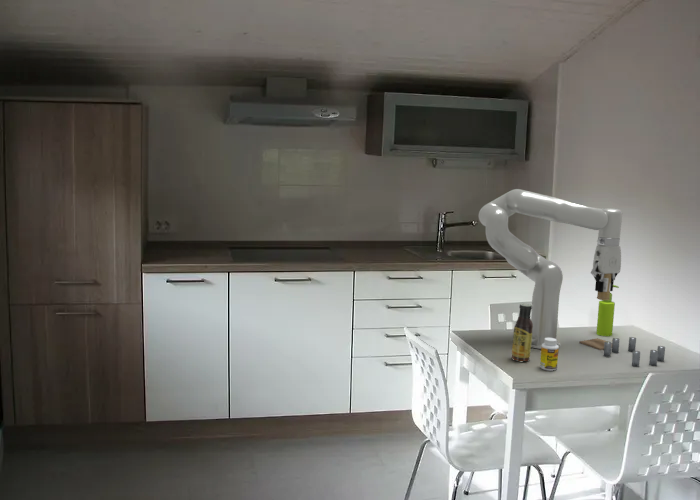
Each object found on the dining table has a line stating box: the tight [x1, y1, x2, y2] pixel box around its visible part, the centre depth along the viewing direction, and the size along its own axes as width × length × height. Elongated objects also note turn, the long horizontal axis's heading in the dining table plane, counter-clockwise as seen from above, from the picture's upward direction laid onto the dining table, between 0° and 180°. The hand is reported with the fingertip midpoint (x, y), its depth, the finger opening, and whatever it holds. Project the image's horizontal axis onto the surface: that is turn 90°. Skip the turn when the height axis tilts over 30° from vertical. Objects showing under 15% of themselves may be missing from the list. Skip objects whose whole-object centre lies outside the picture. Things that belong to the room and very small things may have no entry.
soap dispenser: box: [595, 284, 620, 337], centre depth 276 cm, size 6×7×20 cm
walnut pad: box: [579, 337, 612, 351], centre depth 263 cm, size 10×10×1 cm
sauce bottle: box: [511, 302, 533, 362], centre depth 241 cm, size 7×6×20 cm
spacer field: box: [603, 336, 666, 368], centre depth 247 cm, size 15×18×5 cm
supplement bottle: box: [539, 338, 560, 372], centre depth 233 cm, size 6×6×10 cm
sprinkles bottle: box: [596, 273, 612, 301], centre depth 258 cm, size 5×5×13 cm
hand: (603, 290), depth 259 cm, fingers closed on sprinkles bottle, 4 cm apart
